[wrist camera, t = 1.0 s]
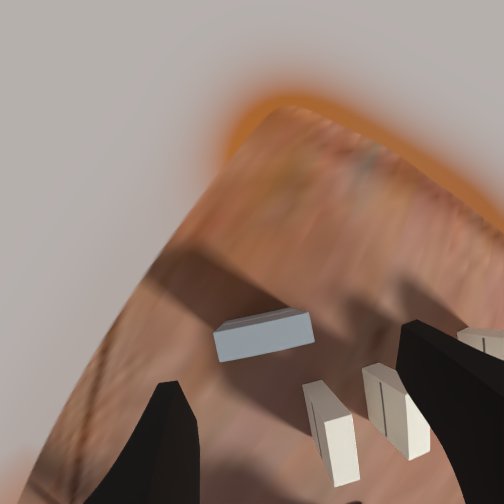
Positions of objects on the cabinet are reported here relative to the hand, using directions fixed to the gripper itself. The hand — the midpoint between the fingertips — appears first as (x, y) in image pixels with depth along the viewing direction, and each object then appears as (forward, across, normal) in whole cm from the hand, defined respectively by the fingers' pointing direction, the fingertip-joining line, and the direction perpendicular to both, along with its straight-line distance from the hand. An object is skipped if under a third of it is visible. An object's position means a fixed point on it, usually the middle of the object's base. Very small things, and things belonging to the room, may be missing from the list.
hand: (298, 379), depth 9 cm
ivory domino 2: (+9, -8, +14) cm, 18 cm away
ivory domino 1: (+9, -3, +14) cm, 16 cm away
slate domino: (+13, 0, +7) cm, 15 cm away
